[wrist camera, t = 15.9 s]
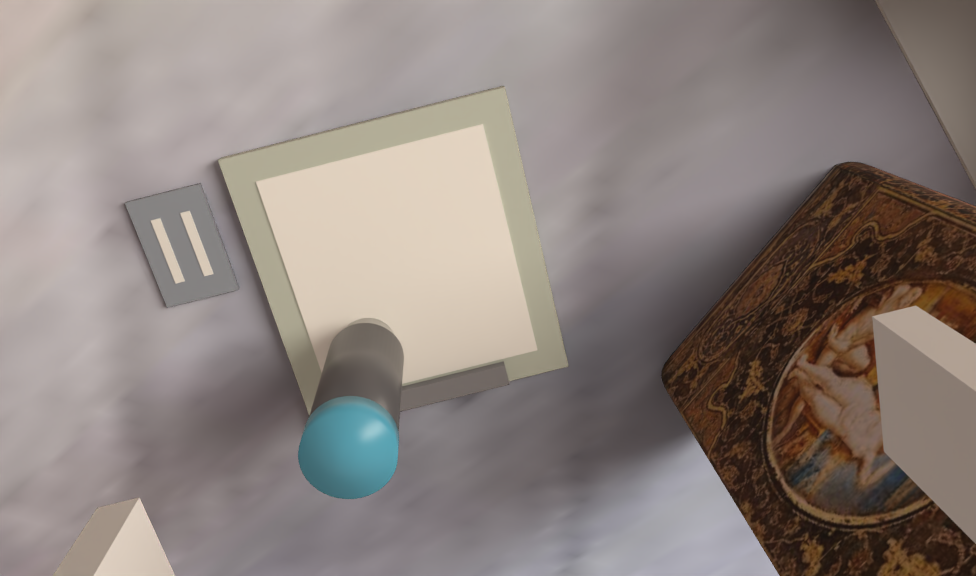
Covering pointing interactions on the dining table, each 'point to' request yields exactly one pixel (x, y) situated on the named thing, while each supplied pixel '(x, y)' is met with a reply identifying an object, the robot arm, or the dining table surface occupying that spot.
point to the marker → (355, 413)
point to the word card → (182, 245)
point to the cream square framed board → (404, 245)
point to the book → (830, 377)
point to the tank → (942, 63)
